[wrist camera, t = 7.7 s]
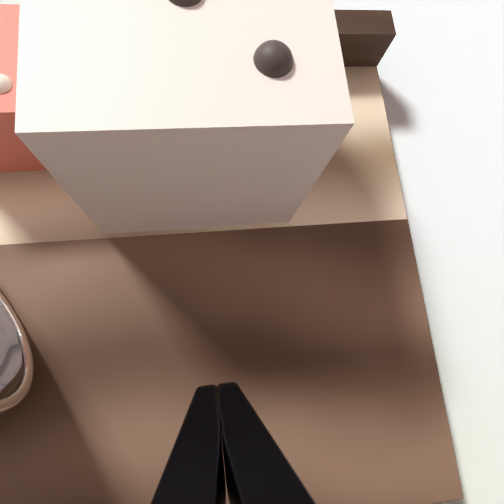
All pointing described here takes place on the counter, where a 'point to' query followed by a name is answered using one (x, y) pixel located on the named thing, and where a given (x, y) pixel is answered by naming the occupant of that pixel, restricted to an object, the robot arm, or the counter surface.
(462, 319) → the counter surface
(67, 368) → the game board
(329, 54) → the ivory die
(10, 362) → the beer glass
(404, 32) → the counter surface
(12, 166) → the terracotta die
